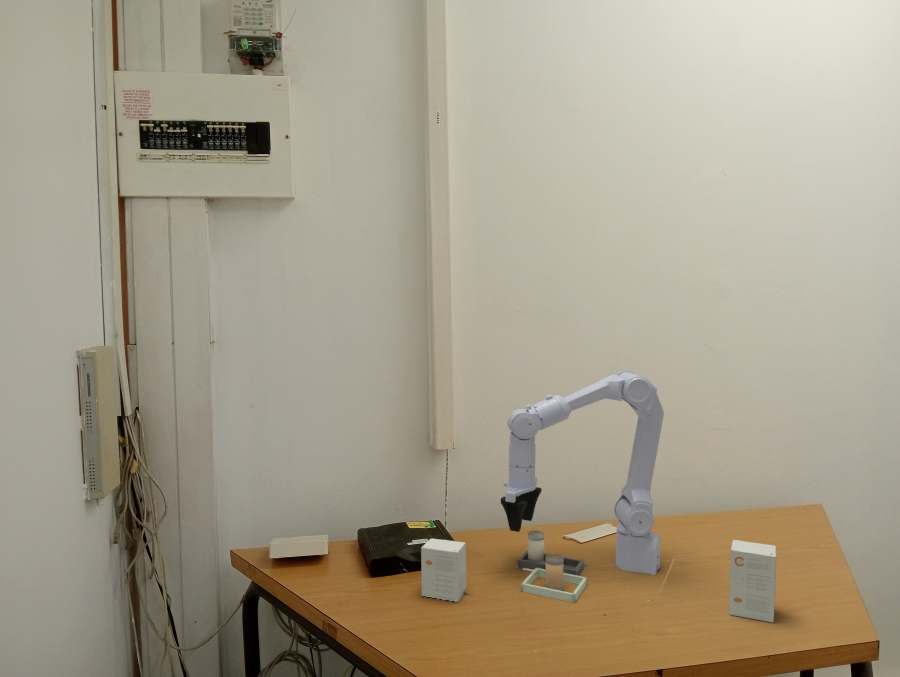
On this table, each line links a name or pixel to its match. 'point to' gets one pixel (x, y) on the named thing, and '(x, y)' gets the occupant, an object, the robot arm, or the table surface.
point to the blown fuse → (554, 572)
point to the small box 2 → (752, 580)
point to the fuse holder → (569, 565)
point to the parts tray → (551, 592)
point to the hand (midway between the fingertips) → (521, 525)
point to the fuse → (536, 546)
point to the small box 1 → (443, 569)
